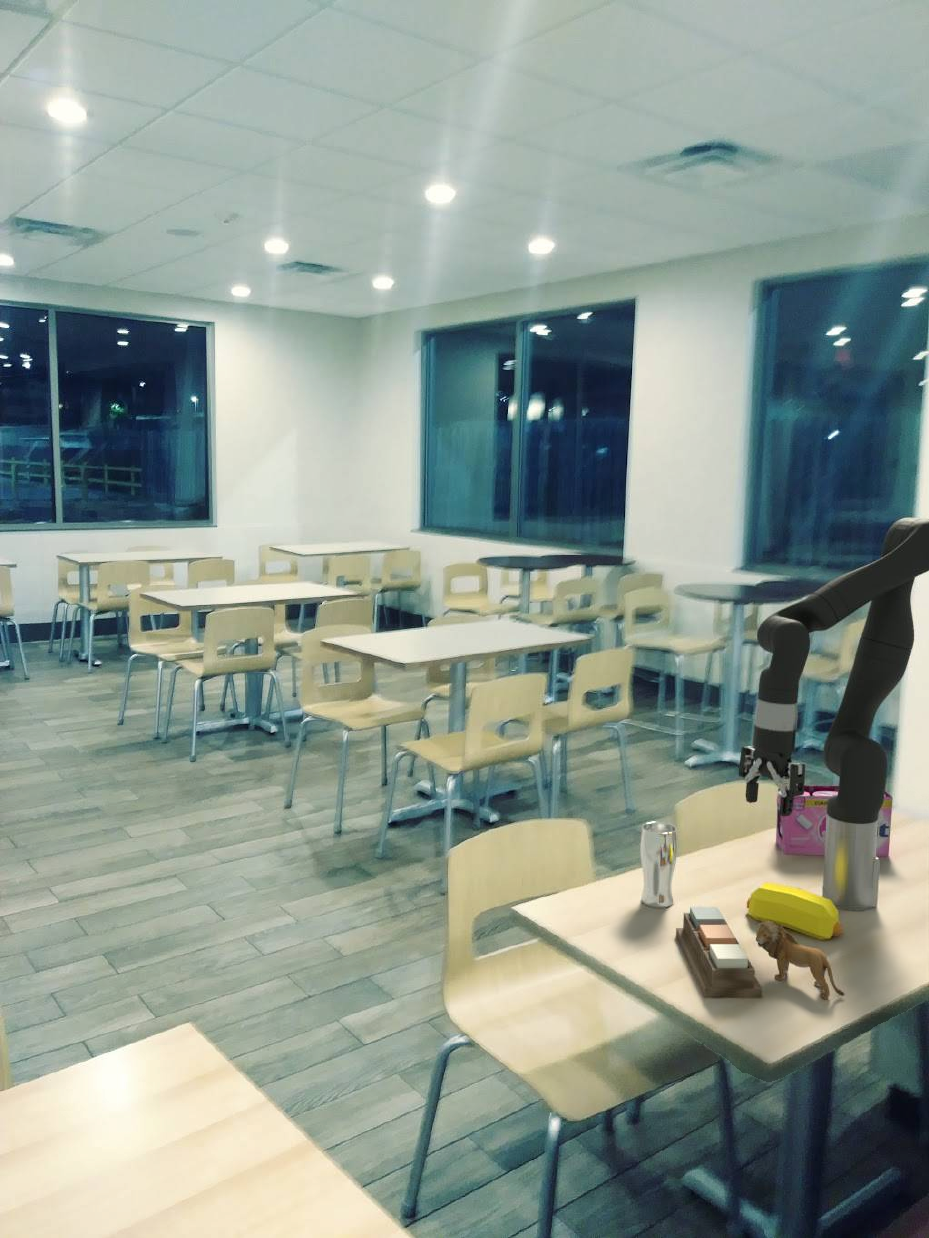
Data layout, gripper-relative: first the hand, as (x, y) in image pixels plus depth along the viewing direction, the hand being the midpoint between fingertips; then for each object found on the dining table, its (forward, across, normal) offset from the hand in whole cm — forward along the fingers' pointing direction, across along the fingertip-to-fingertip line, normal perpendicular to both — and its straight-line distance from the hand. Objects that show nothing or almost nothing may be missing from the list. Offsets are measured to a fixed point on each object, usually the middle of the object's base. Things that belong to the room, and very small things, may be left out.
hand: (767, 808), depth 182 cm
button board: (+21, -12, +22) cm, 33 cm away
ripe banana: (+20, -7, -1) cm, 22 cm away
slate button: (+18, -6, +19) cm, 26 cm away
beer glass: (+21, +12, +15) cm, 28 cm away
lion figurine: (+21, -23, +14) cm, 34 cm away
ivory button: (+18, -19, +25) cm, 36 cm away
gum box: (+19, +16, -37) cm, 44 cm away
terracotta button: (+18, -12, +22) cm, 31 cm away
